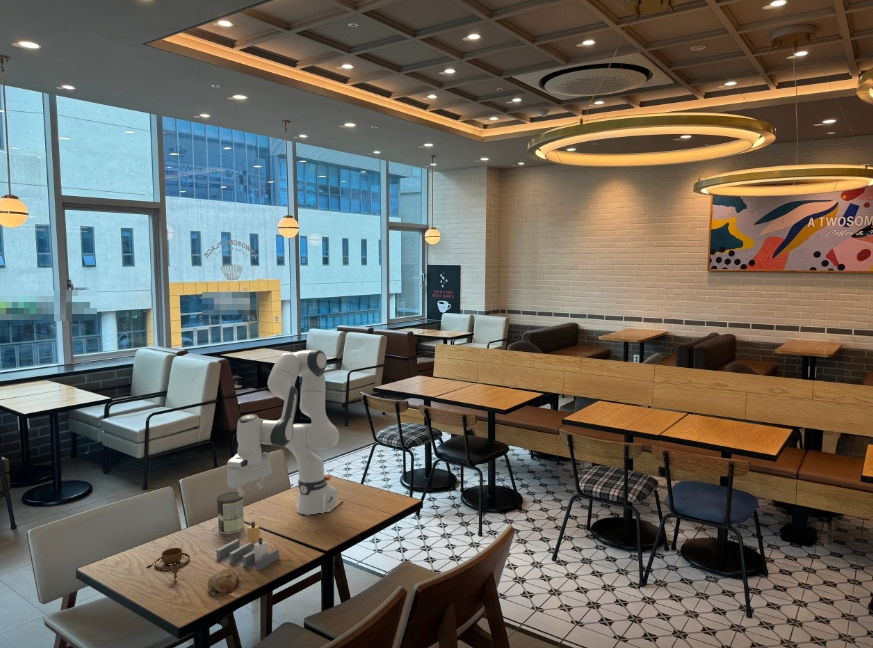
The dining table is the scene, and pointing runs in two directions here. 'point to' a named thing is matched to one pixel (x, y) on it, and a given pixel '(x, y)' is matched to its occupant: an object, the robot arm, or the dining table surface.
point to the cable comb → (245, 555)
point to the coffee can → (230, 513)
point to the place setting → (172, 559)
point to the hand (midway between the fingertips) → (251, 492)
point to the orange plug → (253, 533)
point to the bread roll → (223, 582)
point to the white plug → (260, 549)
